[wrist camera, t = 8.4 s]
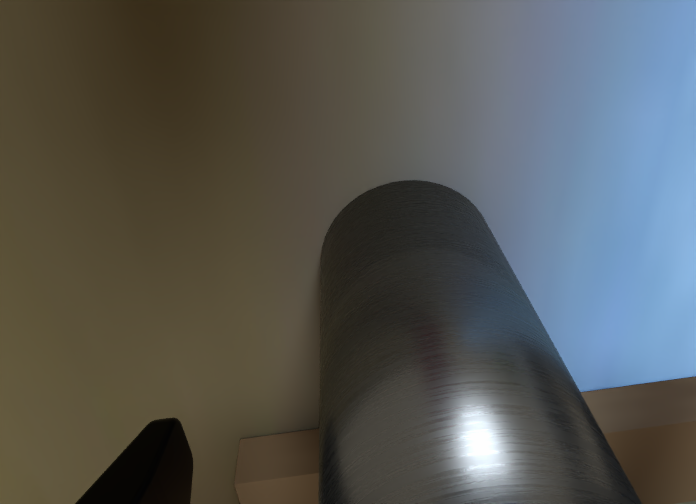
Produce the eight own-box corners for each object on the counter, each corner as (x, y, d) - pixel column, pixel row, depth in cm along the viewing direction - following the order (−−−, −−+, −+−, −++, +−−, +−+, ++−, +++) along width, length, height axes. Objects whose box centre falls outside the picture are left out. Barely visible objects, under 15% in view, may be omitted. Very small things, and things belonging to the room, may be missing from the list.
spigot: (484, 163, 12) (700, 479, 5) (498, 311, 14) (668, 685, 7) (302, 201, 12) (273, 548, 5) (341, 341, 14) (356, 728, 7)
